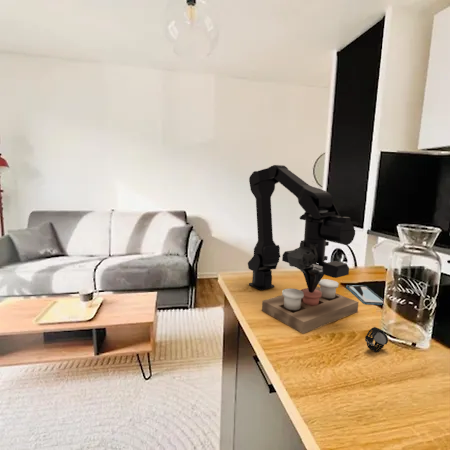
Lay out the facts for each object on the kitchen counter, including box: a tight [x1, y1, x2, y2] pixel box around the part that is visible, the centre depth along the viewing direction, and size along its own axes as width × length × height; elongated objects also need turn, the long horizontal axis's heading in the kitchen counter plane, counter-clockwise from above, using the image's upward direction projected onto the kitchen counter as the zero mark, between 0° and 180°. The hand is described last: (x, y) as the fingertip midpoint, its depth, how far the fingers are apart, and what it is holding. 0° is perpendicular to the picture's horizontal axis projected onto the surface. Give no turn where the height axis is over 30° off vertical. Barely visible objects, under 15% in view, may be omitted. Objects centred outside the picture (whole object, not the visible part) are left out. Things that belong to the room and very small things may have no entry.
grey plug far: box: [318, 278, 340, 298], centre depth 88 cm, size 6×6×4 cm
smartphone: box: [345, 284, 384, 306], centre depth 98 cm, size 7×1×15 cm
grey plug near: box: [281, 288, 304, 310], centre depth 80 cm, size 6×6×4 cm
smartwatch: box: [364, 326, 389, 353], centre depth 66 cm, size 4×5×5 cm
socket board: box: [261, 286, 359, 335], centre depth 85 cm, size 15×23×3 cm, turn 124°
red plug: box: [300, 287, 322, 306], centre depth 84 cm, size 6×6×4 cm
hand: (311, 292), depth 84 cm, fingers closed, pressing on red plug
